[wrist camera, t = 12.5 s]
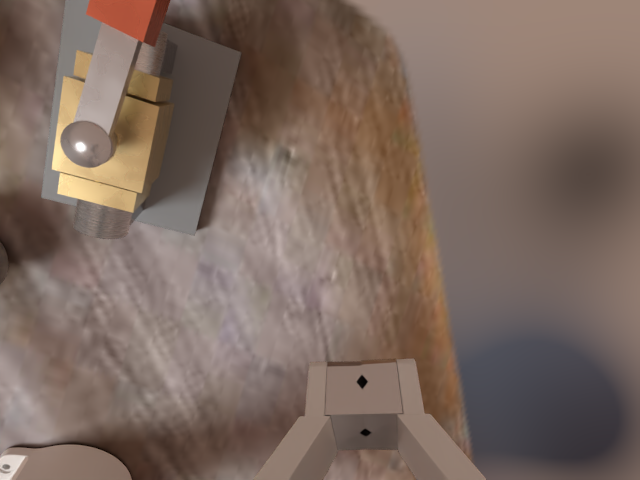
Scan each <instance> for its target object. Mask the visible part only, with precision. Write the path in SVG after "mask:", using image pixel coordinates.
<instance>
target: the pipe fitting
mask: <svg viewBox="0 0 640 480" xmlns="http://www.w3.org/2000/svg"><path fill="white" fill-rule="evenodd" d="M8 266H9V262H8V256H7V253H6V250H5V248H4V246H3V245H2V243H1V242H0V284H1V283H2V282H3V280H4V279H5V277H6V275H7V272H8Z"/></svg>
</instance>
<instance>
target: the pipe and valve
mask: <svg viewBox="0 0 640 480" xmlns="http://www.w3.org/2000/svg"><path fill="white" fill-rule="evenodd" d="M167 35H168V34H167V33H165V32H163V31H161V30H160V33H159V37H158V40H157V43H156V46H155V47H153V46H150V45H148V44H146V43H142V46H141V49H140V52H139V55H138V59H137V62H136V65H135V68H134V71H133V74H132V77H131V81H130V84H129V87H128V90H127V93H126V96H125V100H124V103H123V106H122V109H121V112H120V115H119V119H118V122H117V125H116V128H115V131H114V134H113V135H114V137H115V139H116V145H117V147H116V152H115V154H114V156H113V157H112V159H110V160H109V161H108V162H106V163H104V164H102V165H100V166H98V167H93V168H86V167H82V166H79V165H77V164H75V163H73V162H72V161H71V160H70V159H68V157H67V156H66V155H65V154H64V152H63V150H62V147H61V142H60V139H61V134H62V132H63V130H64V129H65V127H66V126H68V125H69V124H71V123H73V122H74V118H75V115H76V111H77V108H78V104H79V101H80V97H81V94H82V90H83V87H84V83H85V80H86V76H87V73H88V69H89V66H90V62H91V59H92V55H93V53H89V52H84V51H80V50H77V52H76V59H75V67H74V74H73V75H75V76H78V77H75V76H64V77H63V85H62V92H61V100H60V108H59V116H58V123H57V131H56V139H55V147H54V154H53V162H52V170H56V171H60V177H59V184H58V191H57V194H61V195H65V196H69V197H73V198H77V204H76V211H75V217H74V224H73V226H74V228H75V229H76V230H77V231H78V232H80V233H82V234H85V235H88V236H91V237H95V238H102V239H118V238H122V237H125V236H126V235H127V234H128V231H129V226H130V225H131V224H132V223H133V222H134V220H135V219H136V218H137V217H138V216H139V215H140V214H141V212H142V211H143V210H144V205H145V200H146V198H147V197H148V196H149V194H150V189H151V184H152V183H153V182H154V181H155V180H156V179H157V178H158V177H159V174H160V170H161V165H162V160H163V156H164V151H165V146H166V142H167V137H168V132H169V128H170V123H171V118H172V114H173V109H174V103H171V102H168V101H165V100H169V99H170V94H171V89H172V84H173V80H172V79H169V78H166V77H164V76H161V75H160V72H164V73H169V74H172V70H173V66H174V61H175V56H176V51H177V46H178V45H176V44H174V43H173V42H171V41H169V40H168V39H167Z"/></svg>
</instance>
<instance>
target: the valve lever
mask: <svg viewBox="0 0 640 480" xmlns="http://www.w3.org/2000/svg"><path fill="white" fill-rule="evenodd" d="M169 3H170V0H89V4H88V8H87V11H86V14H87V15H89V16H91V17H93V18H95V19H97V20H99V21H101V22H102V24H101V27H100V31H99V34H98V38H97V41H96V45H95V48H94V52H93V55H92V59H91V62H90V66H89V69H88V73H87V76H86V80H85V83H84V87H83V90H82V94H81V97H80V101H79V104H78V108H77V111H76V115H75V118H74V122H73V123H71V124H69V125H68V126H66V127H65V129H64V130H63V132H62V134H61V139H60V142H61V147H62V150H63V152H64V154H65V155H66V156H67V157H68V159H70V160H71V161H72V162H73V163H75V164H77V165H79V166H82V167H86V168H93V167H98V166H100V165H102V164H104V163H106V162H108V161H109V160H110V159H112V157H113V156H114V154H115V152H116V147H117V145H116V139H115V137H114V135H113V134H114V131H115V128H116V125H117V122H118V119H119V115H120V112H121V109H122V106H123V103H124V100H125V96H126V93H127V90H128V87H129V84H130V81H131V77H132V74H133V71H134V68H135V65H136V62H137V59H138V55H139V52H140V49H141V46H142V43H146V44H148V45H150V46H153V47H155V46H156V43H157V40H158V37H159V33H160V30H161V27H162V24H163V21H164V18H165V15H166V12H167V9H168V6H169Z"/></svg>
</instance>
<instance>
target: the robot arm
mask: <svg viewBox="0 0 640 480" xmlns="http://www.w3.org/2000/svg"><path fill="white" fill-rule="evenodd" d="M367 448H368V449H379V450H398V452H399V453H400V455H401V456H402V458H403V460H404V461H405V463H406V464H407V466H408V467H409V469H410V470H411V472H412V473H413V475H414V476H415V478H416V480H486V478H485V477H484V476H483V475H482V474H481V473H480V472H479V470H478V469H477V468H476V467H475V466H474V464H473V463H472V462H471V461H470V460H469V459H468V457H467V456H466V455H465V454H464V453H463V452H462V450H461V449H460V448H459V447H458V446H457V445H456V443H455V442H454V441H453V440H452V439H451V438H450V436H449V435H448V434H447V433H446V432H445V430H444V429H443V428H442V427H441V426H440V425H439V423H438V422H437V421H436V420H435V419H434V418H433V416H432V415H431V414H425V413H424V407H423V401H422V395H421V390H420V384H419V378H418V372H417V367H416V362H415V360H414V358H412V359H382V360H363V361H344V362H310V365H309V370H308V382H307V393H306V405H305V416H299V418H298V419H297V420H296V422H295V423H294V425H293V426H292V427H291V429H290V430H289V431H288V433H287V434H286V436H285V437H284V438H283V440H282V441H281V442H280V444H279V445H278V446H277V448H276V449H275V451H274V452H273V453H272V455H271V456H270V457H269V459H268V460H267V462H266V463H265V464H264V466H263V467H262V468H261V470H260V471H259V472H258V474H257V475H256V477H255V478H254V479H253V480H323V479H324V477H325V475H326V473H327V472H328V470H329V468H330V466H331V464H332V462H333V460H334V459H335V457H336V455H337V453H338V452H337V450H362V449H367ZM0 480H132V479H131V476H130V473H129V471H128V470H127V468H126V467H125V466H124V464H123V463H122V462H121V461H119V460H118V459H117V458H116V457H114V456H112V455H111V454H109V453H107V452H105V451H102V450H100V449H97V448H93V447H89V446H83V445H56V446H51V447H45V448H39V449H32V448H20V447H14V448H8V449H6V450H5V451H4V452H3V453H2V454H1V456H0Z"/></svg>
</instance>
